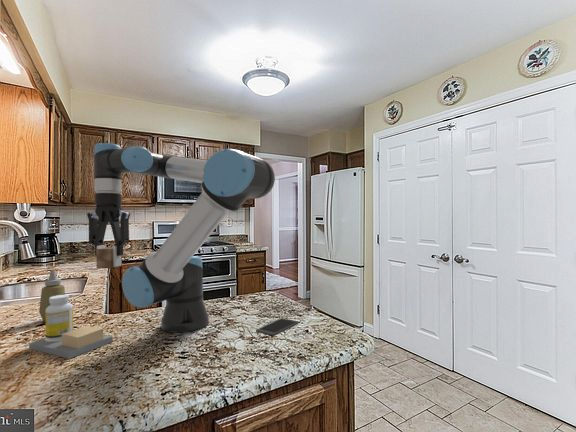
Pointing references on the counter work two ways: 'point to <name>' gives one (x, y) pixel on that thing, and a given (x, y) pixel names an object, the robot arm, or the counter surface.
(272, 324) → the cell phone
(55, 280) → the squeeze bottle
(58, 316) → the pill bottle
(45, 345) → the board
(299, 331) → the counter surface
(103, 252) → the walnut block
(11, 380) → the counter surface
